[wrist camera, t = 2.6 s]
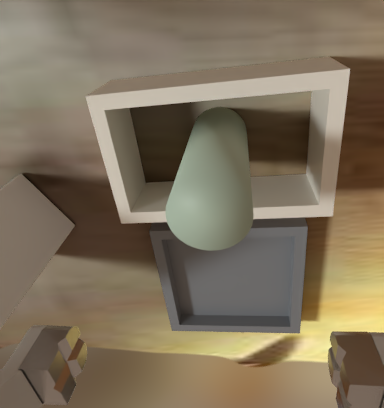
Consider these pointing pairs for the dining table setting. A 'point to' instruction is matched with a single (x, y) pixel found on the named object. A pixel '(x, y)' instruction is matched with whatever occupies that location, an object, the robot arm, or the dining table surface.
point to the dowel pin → (213, 184)
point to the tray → (235, 279)
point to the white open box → (223, 89)
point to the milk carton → (26, 239)
